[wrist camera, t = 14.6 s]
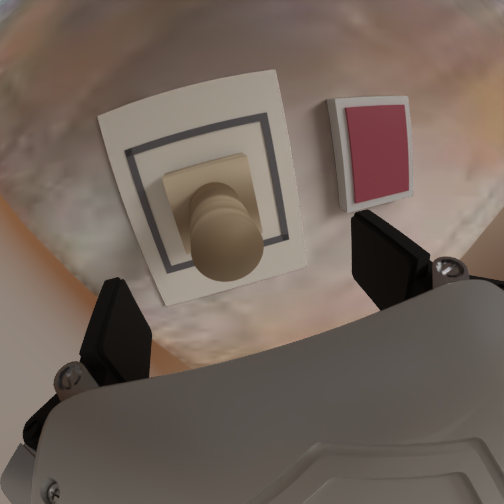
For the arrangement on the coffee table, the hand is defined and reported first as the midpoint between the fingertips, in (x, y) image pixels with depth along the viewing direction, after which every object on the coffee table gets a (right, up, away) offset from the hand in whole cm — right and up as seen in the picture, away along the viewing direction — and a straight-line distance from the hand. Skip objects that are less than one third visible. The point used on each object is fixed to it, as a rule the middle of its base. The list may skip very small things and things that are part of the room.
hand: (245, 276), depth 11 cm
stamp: (-3, +5, +11) cm, 13 cm away
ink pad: (+11, +10, +13) cm, 20 cm away
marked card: (-3, +6, +12) cm, 13 cm away
